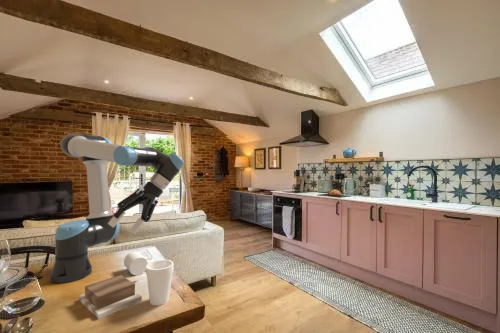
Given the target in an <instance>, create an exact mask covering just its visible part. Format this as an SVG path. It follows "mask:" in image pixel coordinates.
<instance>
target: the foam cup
mask: <svg viewBox="0 0 500 333" xmlns="http://www.w3.org/2000/svg"><path fill="white" fill-rule="evenodd" d="M174 266H175V264H174V262H173V260H169V259H158V260H154V261H153V262H150V263H148V264H147V265H146V271H145V275H146V279H147V288H148V289H147V290H148V296H149V302H150V303H149V304H150V305H151V306H155V307H156V306H162V305H165V304H166V303H168V301H169V298H170V292H171V285H172V279H173V274H174V273H173V272H174Z"/></svg>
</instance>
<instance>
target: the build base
mask: <svg viewBox="0 0 500 333" xmlns="http://www.w3.org/2000/svg"><path fill="white" fill-rule="evenodd" d="M142 298H143V296H142V295H140V294H139V293H137V292H136V283H135V282H133V281H131V280H130V279H127V278H126V277H124V276H122V275H121V274H119V275H116V276H115V275H114V276H113V277H110V278H106V279H102V280H100V281H97V282H93V283H90V284H87V285H85V286H84V293H83V294H80V295H78V301H79V303H81V304H82V305H83V306H84V307H85V308H86V309H87V310H88V311H89V312H91V313H92V314H93V316H94V317H95V318H97V320H100V319H104V318H105V317H108V316H109V315H110V316H111V315H112V314H114V313H116V312H118V311H121V310H124V309H126V308H129V307H131V306H133V305H135V304H137V303H139V302H142V300H143V299H142Z"/></svg>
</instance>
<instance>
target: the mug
mask: <svg viewBox="0 0 500 333" xmlns="http://www.w3.org/2000/svg"><path fill="white" fill-rule="evenodd" d="M153 261H155V258H154V257H152V256H151V257H150V256H144V255H142V254H141V253H140V252H139V251H131V252H129V253H128V254H126V255H125V257H124V260H123V265H124V266H125V267H126V269H127V270H128V272H130V274H131V275H133V276H140V275H143V273H146V265H147V264H148V263H150V262H153Z"/></svg>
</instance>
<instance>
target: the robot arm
mask: <svg viewBox="0 0 500 333" xmlns="http://www.w3.org/2000/svg"><path fill="white" fill-rule="evenodd" d="M59 145H60V149H61V151H62V152H63V153H64V154H65V155H67V156H69V157H71V158H76V159H82V164H84V165H85V167H86V176H87V178H86V179H87V191H88V207H89V214H88V215H87V217H86V219H78V220H71V221H68V222H64V223H62V224H60V225H59V226H57V227H56V230H55V235H54V240H55V244H54V246H55V249H54V250H55V254H54V256H55V257H54V263H53V265H52V268H51V270H50V273H49V276H48V278H49V282H51V283H54V284H62V283H71V282H74V281H78V280H81V279H84V278H86V277H88V276H90V274H92V273H93V267H92V264H91V263H92V262H91V260H90V258H89V255H88V254H89V252H88V251H89V249H88V248H92V247H93V246H97V245H100V244H104V243H108V242H110V241H112V240H114V239H116V238H117V236H118V235H119V233H120V229H121V224H120V220H121V219H122V218H123V217H124V215H125V214H126V211H128V210H130V209H132V208H134V207H136V206H137V205H142V210H141V215H140V217H138V218H137V220H136V221H135V222H134V223H133V225H132V226H131V227H130V229H128V231H129V232H130V233H131V234H133V235H135V234H136V233H137V231H138V230H139V229H140V227H142V225H143V223H144V222H149V221H150V219H151V218H152V215H153V213H154V211H155V209H156V206H157V205H158V203H159V201H158V199H159V198H160V197H161V196H162V194H163V193H164V190H166V189H167V188H168V187H169V185H170V183H171V182H172V181H173V180H174V178H175V177H176V175H178V173H179V172H180V171H181V169H182V168H183V166H184V165H185V161H184V159H183V158H182V157H181V156H179V155H178V154H176V153H173V152H171V153H169V154H168V155H167V154H165V153H163V152H162V151H160V150H158V149H157V148H155V147H152V146H149V145H148V146H146V147H134V146H129V145H122V144H116V143H113V142H112V141H111V140H110V139H109V138H108V137H105V136H101V135H93V134H85V133H79V132H78V133H77V132H75V133H74V132H73V133H69V134H67V135H65V136H64V137H62V139H61V141H60V144H59ZM110 162H111V163H116V164H117V165H118V166H123V167H124V166H125V167H129V166H130V167H131V166H132V167H134V166H135V167H152V168H153V169H155V170H156V171H155V172H154V174H153V175H151V177H150V179H149V181H147V182H146V183H145V185H144V186H143V187H142V188H143V190H142V189H140V188H137V189H136V190H134V191H133V193H131V194H129V195H128V196H127V197H125V198H124V199H122V200H121V201H119V202H118V203H117V204H116V205H117V208H118V209H117V211H116V212H115V213H113V212H112V211H110V210H111V209H110V196H109V195H110V194H109V183H108V182H109V181H108V167H107V166H108V164H109V163H110ZM156 198H158V199H156Z"/></svg>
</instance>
